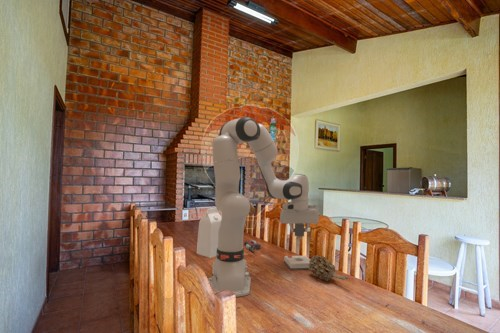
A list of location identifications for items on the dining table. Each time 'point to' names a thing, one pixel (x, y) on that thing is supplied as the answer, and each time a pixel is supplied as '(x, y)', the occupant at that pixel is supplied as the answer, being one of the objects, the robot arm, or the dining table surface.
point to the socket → (297, 262)
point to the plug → (299, 230)
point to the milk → (208, 233)
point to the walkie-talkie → (252, 245)
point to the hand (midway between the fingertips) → (299, 231)
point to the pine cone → (323, 268)
